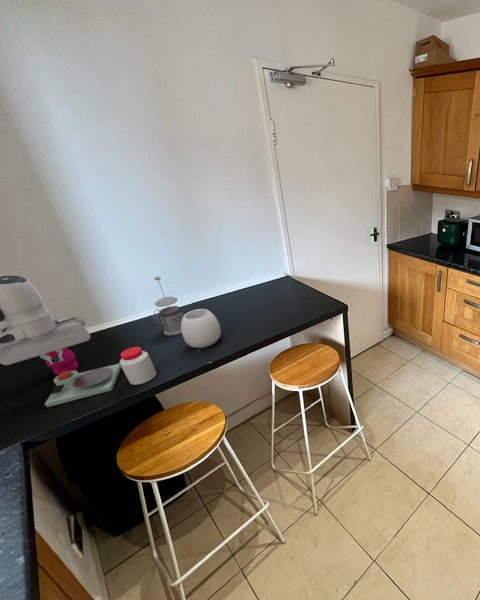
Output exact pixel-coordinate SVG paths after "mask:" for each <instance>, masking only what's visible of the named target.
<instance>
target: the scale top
mask: <svg viewBox="0 0 480 600" xmlns="http://www.w3.org/2000/svg"><path fill="white" fill-rule="evenodd" d="M88 371H89V372H86V371H85V372H86V373H84V374H82V375H81V376H79V377H78V378H77V379H75V381H74V382H73V386H74V387H75V388H78V389H82V388H88V387H92V386H95V385H97V384H100V383H102V382H103V381H105V380H107V379H108V378H109V377H110V376H111V375H112V373H113V371H112V369H110V368H103V367H99V368H98V367H97V368H95V369H91V371H90V370H88ZM64 385H65V384H62V385H58V386H56V385H54V387H53V389H52V390H51V392H50V393H49V396H50V395H51V394H54V393H58V392H61V390H62V389H63V387H64Z"/></svg>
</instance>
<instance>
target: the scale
mask: <svg viewBox="0 0 480 600" xmlns="http://www.w3.org/2000/svg"><path fill="white" fill-rule="evenodd" d="M102 368H110V369H112V371H113V373H112V375H111V376H110V377H109V378H108V379H107V380H105V381H103V382H102V383H100V384H97V385H95V386H92V387H88V388H82V389H78V388H75V387H74V386H73V382H74V381H75V379H77V378H78V377H79V376H81V375H82V374H84V373H86V372H89V371H91V370H92V369H91V370H85V371H83V372H82V371H81V372H78V370H74V371H70V372H71V373H72V376H71V377H70V378H67V379H64V380H60V378H59V377H58V375H56V376H55V377H54V379H53V383H54V384H55V386H58V385H62V384H65V385H64V387H63V389H62V390H61V392H58V393H54V394H51V395H50V394H49V397H48V398H47V399H46V401H45V403H44V406H45V407H46V408H50V407H53V406H57V405H60V404H61V405H62V404H65V403H68V402H73V401H76V400H80V399H83V398H87V397H91V396H95V395H100V394H102V393H107V392H110V391H113V389H114V386H115V384H116V382H117V379H118V376H119V373H120V372H121V369H122V367H121V365H120V363H116V364H112V365H111V364H110V365H108V366H107V365H106V366H104V367H102Z"/></svg>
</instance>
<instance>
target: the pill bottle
mask: <svg viewBox="0 0 480 600" xmlns="http://www.w3.org/2000/svg"><path fill="white" fill-rule="evenodd" d="M120 357H121V358H120V360H119V364H120V365H121V369H122V371H123V373H124V375H125V377H126V379H127V380H128V383H129V384H130V385H133V386H135V385H136V386H137V385H142V384H146V383H147V382H150V381H151V380H152V379H154V378H155V377H156V376H157V371H156V368H155V365H154V364H153V361H152V359H151V356H150V355H149V352H147V351H145V350H143V349H142V347H140V346H134V347H129V348H127V349H125V350H123V351H122V352H121V353H120Z"/></svg>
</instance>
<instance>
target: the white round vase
mask: <svg viewBox="0 0 480 600" xmlns="http://www.w3.org/2000/svg"><path fill="white" fill-rule="evenodd" d="M181 331H182V333H181V334H182V337H183V341H184V342H185V343H186V344H187V345H188V346H189V347H191V348H195V349H204V348H207V347H211V346H212V345H214V344H215V343H217V342H218V341H219V339H220V338H221V336H222V335H221V334H222V328H221V325H220V323H219V319H218V318H217V317H216V315H215V314H214V313H212V312H211V311H210V310H209V309H207V308H198V309H193V310H190V311H188V312H187V313H185V314H183V319H182V322H181Z"/></svg>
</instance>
